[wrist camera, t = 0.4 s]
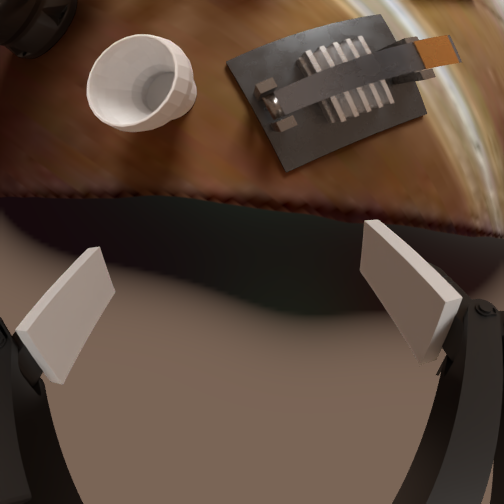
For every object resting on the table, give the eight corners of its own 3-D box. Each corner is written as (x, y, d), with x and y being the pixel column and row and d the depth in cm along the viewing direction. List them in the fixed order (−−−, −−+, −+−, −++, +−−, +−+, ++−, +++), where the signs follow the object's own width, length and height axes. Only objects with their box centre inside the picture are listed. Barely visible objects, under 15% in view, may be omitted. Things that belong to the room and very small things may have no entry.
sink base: (285, 171, 38) (296, 184, 30) (226, 63, 31) (221, 45, 22) (423, 113, 33) (458, 115, 25) (377, 16, 26) (405, -2, 18)
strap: (276, 118, 29) (271, 121, 28) (265, 97, 28) (258, 98, 27) (458, 62, 16) (463, 62, 14) (446, 36, 14) (451, 34, 13)
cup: (219, 109, 34) (203, 97, 20) (152, 142, 35) (104, 153, 22) (190, 49, 29) (160, 10, 16) (126, 84, 31) (70, 70, 17)
